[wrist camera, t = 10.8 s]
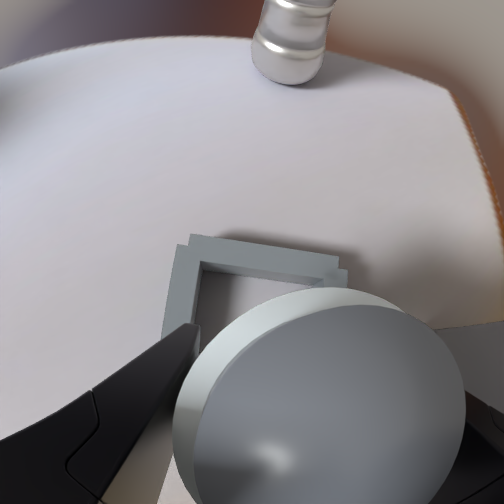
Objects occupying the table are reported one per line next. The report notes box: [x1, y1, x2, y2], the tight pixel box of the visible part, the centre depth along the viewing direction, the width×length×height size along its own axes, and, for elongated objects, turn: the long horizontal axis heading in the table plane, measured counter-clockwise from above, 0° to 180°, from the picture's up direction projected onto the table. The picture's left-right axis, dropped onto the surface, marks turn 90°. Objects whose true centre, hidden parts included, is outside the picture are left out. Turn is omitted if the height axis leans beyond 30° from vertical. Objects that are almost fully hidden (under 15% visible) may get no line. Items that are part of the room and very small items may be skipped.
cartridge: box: [172, 287, 466, 504], centre depth 9 cm, size 5×5×12 cm
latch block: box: [433, 321, 504, 414], centre depth 13 cm, size 5×8×12 cm, turn 57°
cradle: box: [161, 234, 348, 339], centre depth 18 cm, size 9×10×2 cm
